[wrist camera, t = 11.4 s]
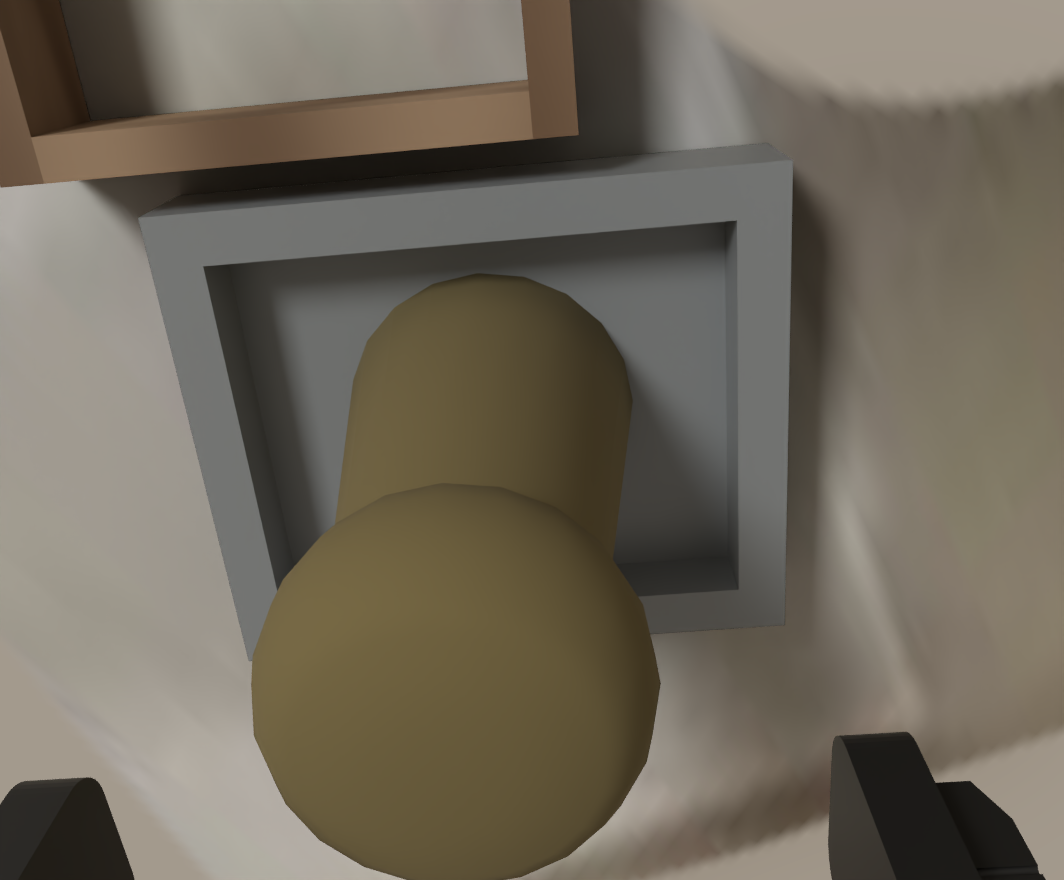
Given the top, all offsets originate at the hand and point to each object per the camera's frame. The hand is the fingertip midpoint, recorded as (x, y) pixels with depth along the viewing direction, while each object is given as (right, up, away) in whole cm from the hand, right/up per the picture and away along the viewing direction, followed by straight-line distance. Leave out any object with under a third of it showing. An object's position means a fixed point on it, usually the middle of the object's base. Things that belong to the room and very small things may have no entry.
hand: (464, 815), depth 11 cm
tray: (0, +5, +11) cm, 12 cm away
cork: (0, +5, +11) cm, 12 cm away
